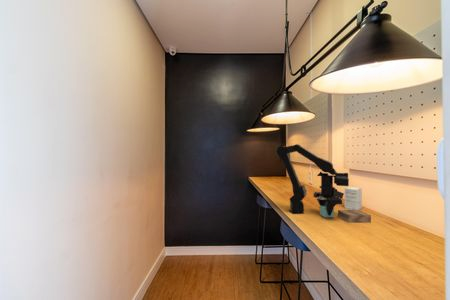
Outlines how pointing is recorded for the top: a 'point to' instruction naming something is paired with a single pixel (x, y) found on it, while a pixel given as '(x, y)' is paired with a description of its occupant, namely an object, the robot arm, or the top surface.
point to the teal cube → (325, 211)
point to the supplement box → (353, 198)
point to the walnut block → (354, 216)
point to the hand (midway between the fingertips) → (326, 213)
